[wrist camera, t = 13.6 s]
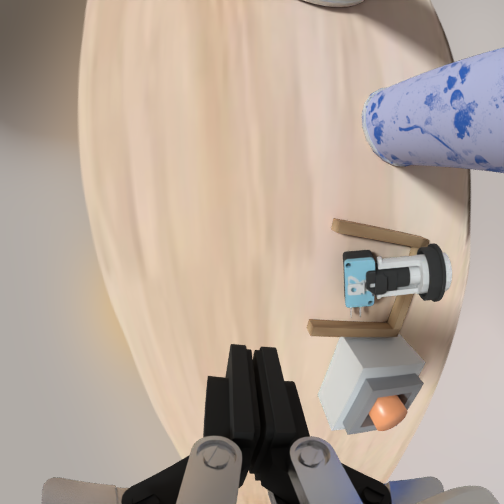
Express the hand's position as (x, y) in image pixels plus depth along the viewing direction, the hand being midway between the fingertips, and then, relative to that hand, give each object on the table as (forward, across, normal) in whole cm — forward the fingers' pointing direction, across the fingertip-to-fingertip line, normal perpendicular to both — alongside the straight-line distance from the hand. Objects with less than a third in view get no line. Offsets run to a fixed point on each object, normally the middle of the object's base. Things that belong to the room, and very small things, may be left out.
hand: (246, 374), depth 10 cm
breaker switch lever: (+14, -16, +12) cm, 24 cm away
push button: (+13, -10, +2) cm, 17 cm away
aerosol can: (+15, -13, -14) cm, 25 cm away
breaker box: (+14, -16, +12) cm, 24 cm away
